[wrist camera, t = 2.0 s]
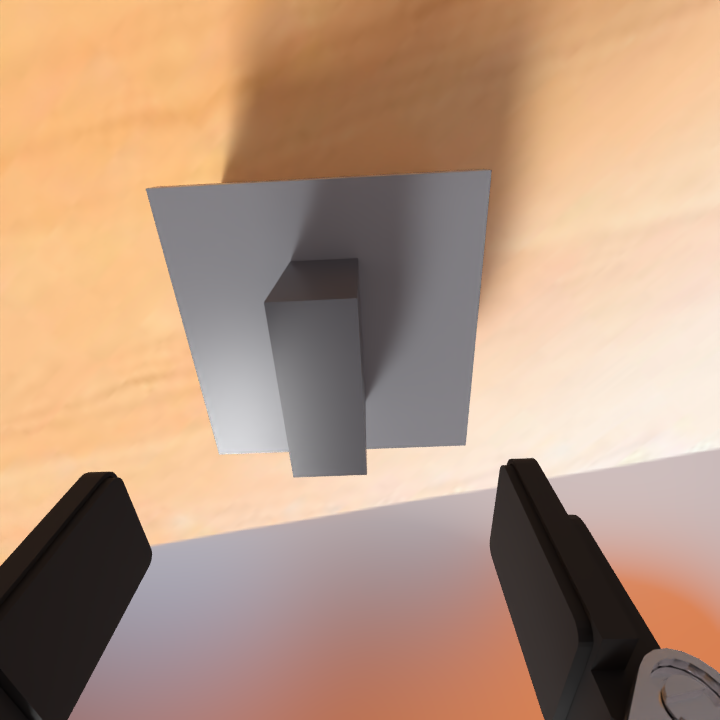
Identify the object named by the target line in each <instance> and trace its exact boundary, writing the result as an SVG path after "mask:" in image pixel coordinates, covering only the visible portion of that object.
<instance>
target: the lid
mask: <svg viewBox="0 0 720 720" xmlns="http://www.w3.org/2000/svg"><path fill="white" fill-rule="evenodd" d="M491 172H492V170H487V169H476V170H457V171H438V172H420V173H401V174H383V175H364V176H346V177H327V178H309V179H290V180H271V181H253V182H234V183H216V184H197V185H179V186H160V187H153V188H147V189H146V191H147V195H148V199H149V202H150V206H151V209H152V213H153V217H154V220H155V224H156V227H157V231H158V235H159V238H160V242H161V246H162V249H163V253H164V256H165V260H166V264H167V267H168V271H169V275H170V278H171V282H172V285H173V289H174V293H175V296H176V300H177V303H178V307H179V311H180V314H181V318H182V322H183V325H184V329H185V332H186V336H187V340H188V343H189V347H190V350H191V354H192V358H193V361H194V365H195V369H196V372H197V376H198V379H199V383H200V387H201V390H202V394H203V398H204V401H205V405H206V408H207V412H208V416H209V419H210V423H211V426H212V430H213V434H214V437H215V441H216V445H217V448H218V452H219V454H243V453H271V452H289V454H290V460H291V466H292V471H293V477H316V476H344V475H367V451H366V449H379V448H406V447H433V446H460V445H466V435H467V424H468V414H469V403H470V393H471V382H472V372H473V361H474V351H475V340H476V330H477V319H478V309H479V298H480V288H481V277H482V266H483V256H484V245H485V235H486V224H487V214H488V203H489V193H490V182H491Z"/></svg>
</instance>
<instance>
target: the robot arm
mask: <svg viewBox="0 0 720 720" xmlns="http://www.w3.org/2000/svg"><path fill="white" fill-rule="evenodd" d="M490 551H491V556H492V559H493V562H494V565H495V569H496V572H497V575H498V578H499V581H500V584H501V587H502V590H503V593H504V596H505V600H506V603H507V606H508V609H509V612H510V615H511V618H512V621H513V624H514V627H515V631H516V634H517V637H518V640H519V643H520V646H521V649H522V652H523V655H524V658H525V662H526V665H527V668H528V671H529V674H530V677H531V680H532V683H533V686H534V689H535V692H536V696H537V699H538V701H539V705H540V708H541V711H542V714H543V717H544V719H545V720H720V674H719V673H718V672H717V671H716V670H715V669H713V668H712V667H710V666H708V665H707V664H706V663H704V662H703V661H701V660H700V659H698V658H696V657H693V656H691V655H689V654H687V653H685V652H682V651H678V650H673V649H668V648H665V649H661V648H660V646H659V645H658V643H657V642H656V640H655V639H654V637H653V635H652V633H651V632H650V630H649V628H648V627H647V625H646V624H645V622H644V620H643V619H642V617H641V615H640V614H639V612H638V610H637V609H636V607H635V605H634V604H633V602H632V601H631V599H630V597H629V596H628V594H627V592H626V591H625V589H624V587H623V586H622V584H621V582H620V581H619V579H618V578H617V576H616V574H615V573H614V571H613V569H612V568H611V566H610V564H609V563H608V561H607V560H606V558H605V556H604V555H603V553H602V551H601V550H600V548H599V547H598V545H597V543H596V542H595V540H594V538H593V536H592V535H591V533H590V532H589V530H588V528H587V527H586V525H585V524H584V522H583V521H582V520H581V518H579V517H578V516H576V515H568V514H567V513H566V511H565V509H564V507H563V505H562V504H561V502H560V500H559V499H558V497H557V495H556V493H555V492H554V490H553V488H552V486H551V485H550V483H549V481H548V479H547V478H546V476H545V474H544V472H543V471H542V469H541V467H540V466H539V464H538V462H537V461H536V460H535V459H534V458H527V459H509V461H508V463H507V465H502V466H501V467H500V472H499V479H498V487H497V494H496V502H495V508H494V515H493V523H492V529H491V536H490ZM151 559H152V551H151V547H150V545H149V543H148V540H147V538H146V535H145V533H144V531H143V528H142V526H141V523H140V521H139V519H138V516H137V514H136V511H135V509H134V507H133V504H132V502H131V499H130V497H129V494H128V492H127V490H126V487H125V485H124V482H123V481H122V479H121V478H118V477H117V476H116V474H115V473H113V472H88V473H85V474H84V475H82V476H81V477H80V478H79V479H78V481H77V482H76V483H75V484H74V485H73V486H72V487H71V488H70V489H69V491H68V492H67V493H66V494H65V495H64V496H63V497H62V498H61V499H60V501H59V502H58V503H57V504H56V505H55V506H54V507H53V508H52V509H51V511H50V512H49V513H48V514H47V515H46V516H45V517H44V518H43V519H42V521H41V522H40V523H39V524H38V525H37V526H36V527H35V528H34V529H33V531H32V532H31V533H30V534H29V535H28V536H27V537H26V538H25V540H24V541H23V542H22V543H21V544H20V545H19V546H18V547H17V548H16V550H15V551H14V552H13V553H12V554H11V555H10V556H9V557H8V558H7V560H6V561H5V562H4V563H3V564H2V565H1V566H0V720H67V719H68V718H69V716H70V714H71V712H72V710H73V708H74V707H75V705H76V703H77V701H78V699H79V697H80V695H81V693H82V692H83V690H84V688H85V686H86V684H87V682H88V680H89V678H90V676H91V674H92V673H93V671H94V669H95V667H96V665H97V663H98V661H99V660H100V658H101V656H102V654H103V652H104V650H105V648H106V646H107V644H108V643H109V641H110V639H111V637H112V635H113V633H114V631H115V629H116V628H117V626H118V624H119V622H120V620H121V618H122V616H123V614H124V612H125V611H126V609H127V607H128V605H129V603H130V601H131V599H132V597H133V595H134V594H135V592H136V590H137V588H138V586H139V584H140V582H141V580H142V579H143V577H144V575H145V573H146V571H147V569H148V567H149V565H150V563H151Z"/></svg>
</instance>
